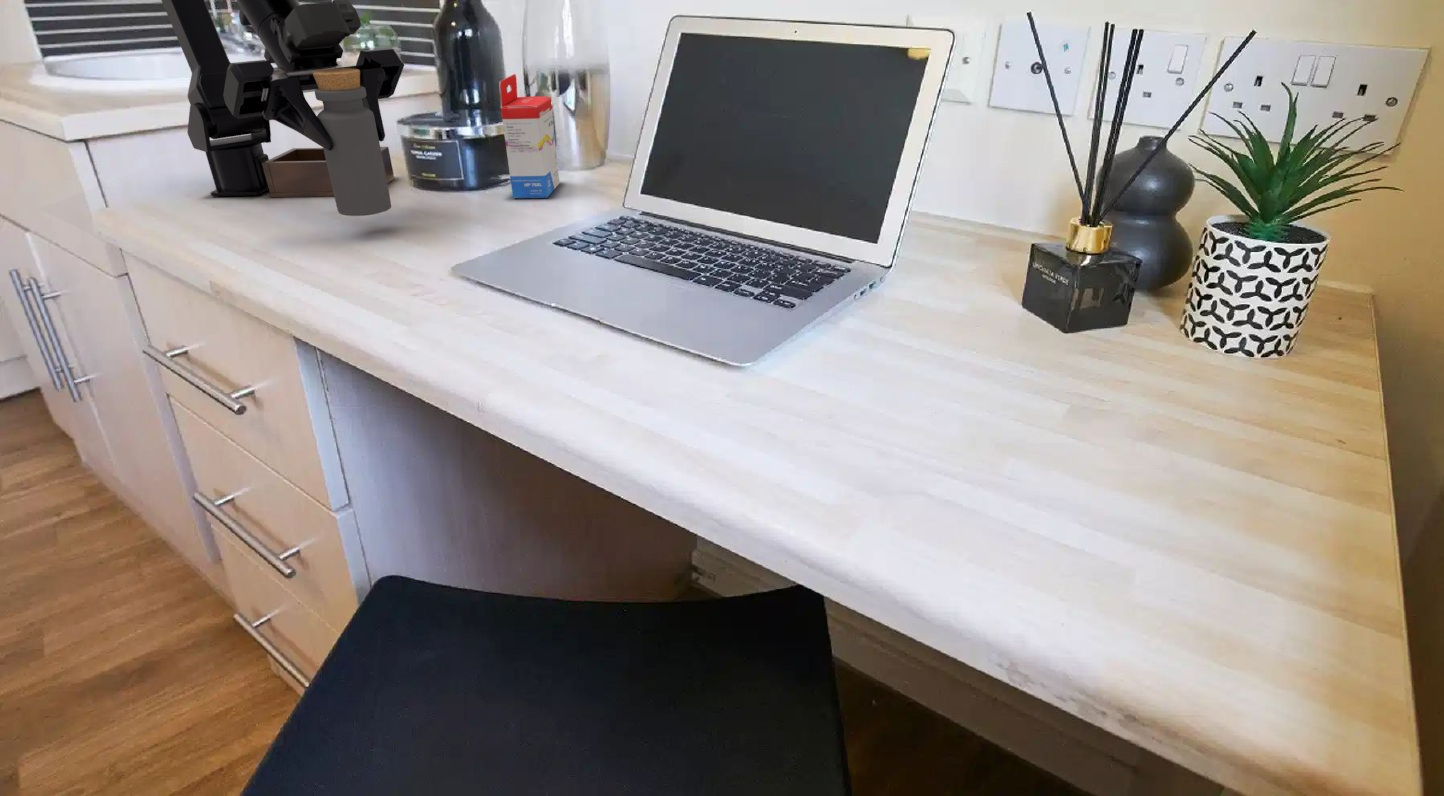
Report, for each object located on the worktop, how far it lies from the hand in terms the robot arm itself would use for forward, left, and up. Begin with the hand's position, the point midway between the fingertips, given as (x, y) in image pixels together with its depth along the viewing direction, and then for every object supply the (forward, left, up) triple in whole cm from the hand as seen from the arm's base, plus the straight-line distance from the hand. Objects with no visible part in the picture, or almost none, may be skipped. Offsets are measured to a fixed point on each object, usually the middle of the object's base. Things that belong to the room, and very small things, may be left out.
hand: (357, 143), depth 92 cm
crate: (-14, +24, -10) cm, 29 cm away
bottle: (-1, +1, -8) cm, 8 cm away
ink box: (+15, +20, -11) cm, 27 cm away
